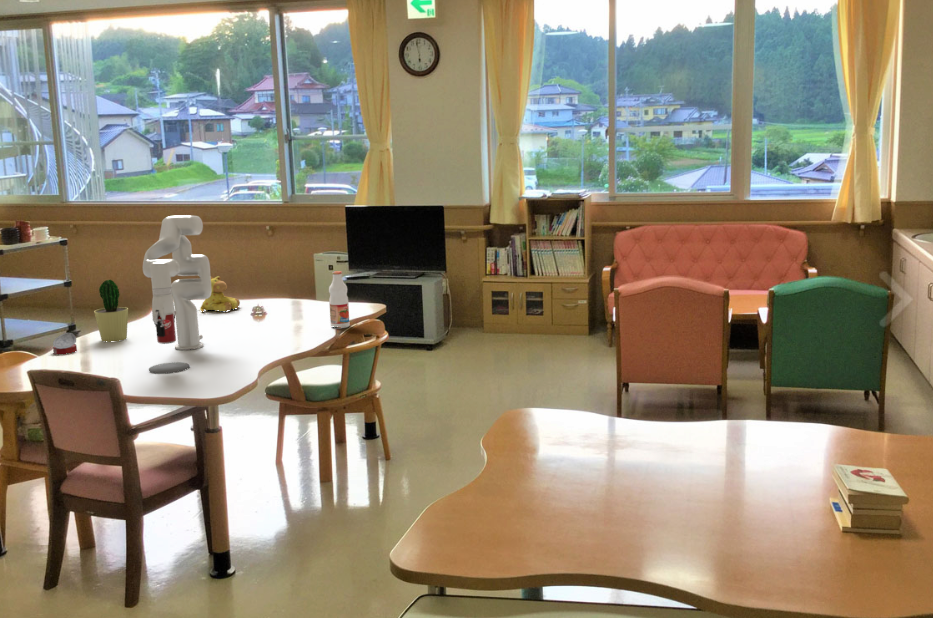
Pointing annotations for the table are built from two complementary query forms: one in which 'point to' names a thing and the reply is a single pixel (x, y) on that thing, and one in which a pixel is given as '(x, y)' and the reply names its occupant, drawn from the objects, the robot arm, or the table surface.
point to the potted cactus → (111, 314)
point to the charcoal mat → (169, 367)
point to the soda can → (168, 330)
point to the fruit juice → (338, 301)
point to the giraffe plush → (219, 297)
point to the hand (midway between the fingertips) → (166, 334)
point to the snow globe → (65, 344)
